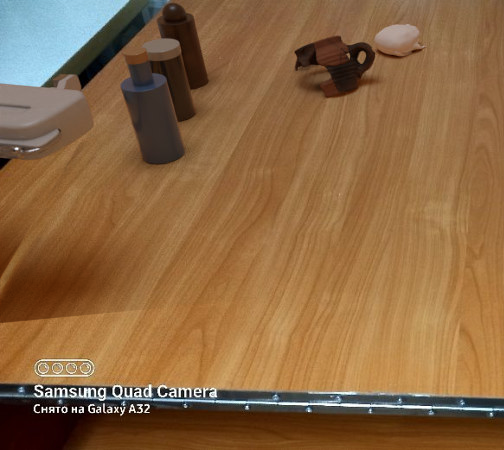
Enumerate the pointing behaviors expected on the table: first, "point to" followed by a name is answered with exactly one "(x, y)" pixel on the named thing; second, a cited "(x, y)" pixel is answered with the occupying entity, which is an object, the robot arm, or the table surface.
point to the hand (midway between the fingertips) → (28, 77)
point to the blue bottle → (151, 110)
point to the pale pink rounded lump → (398, 40)
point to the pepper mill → (184, 41)
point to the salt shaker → (172, 74)
